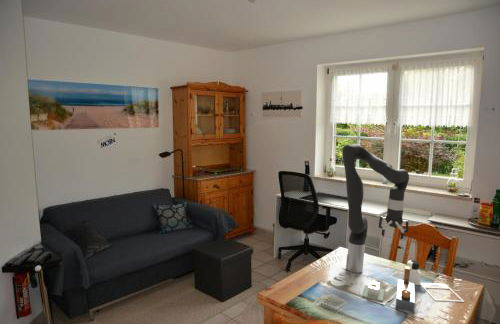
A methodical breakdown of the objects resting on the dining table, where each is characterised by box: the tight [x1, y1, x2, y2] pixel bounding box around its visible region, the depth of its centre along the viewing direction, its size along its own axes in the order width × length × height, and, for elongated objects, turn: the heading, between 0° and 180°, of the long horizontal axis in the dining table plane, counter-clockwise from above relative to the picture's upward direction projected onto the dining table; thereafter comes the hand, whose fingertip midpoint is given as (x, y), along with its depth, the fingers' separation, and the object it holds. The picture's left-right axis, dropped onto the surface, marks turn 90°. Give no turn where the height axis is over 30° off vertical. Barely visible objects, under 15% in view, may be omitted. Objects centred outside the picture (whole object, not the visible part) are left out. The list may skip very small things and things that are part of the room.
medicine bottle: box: [402, 259, 423, 286], centre depth 193 cm, size 7×7×12 cm
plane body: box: [395, 265, 416, 313], centre depth 174 cm, size 22×8×13 cm, turn 155°
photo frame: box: [419, 282, 465, 303], centre depth 183 cm, size 15×1×18 cm
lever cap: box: [368, 280, 381, 297], centre depth 179 cm, size 8×5×5 cm, turn 155°
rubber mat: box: [361, 284, 385, 303], centre depth 179 cm, size 10×12×1 cm
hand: (392, 237), depth 180 cm, fingers open, 8 cm apart
